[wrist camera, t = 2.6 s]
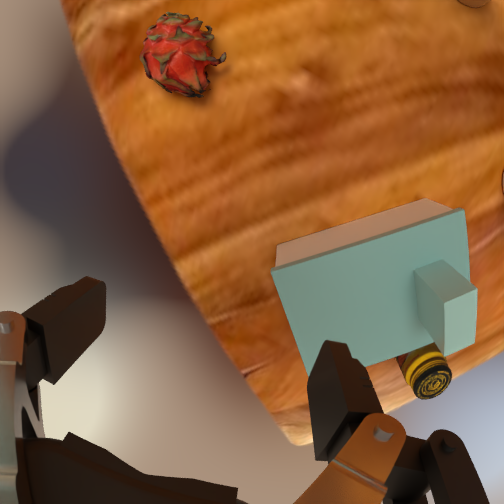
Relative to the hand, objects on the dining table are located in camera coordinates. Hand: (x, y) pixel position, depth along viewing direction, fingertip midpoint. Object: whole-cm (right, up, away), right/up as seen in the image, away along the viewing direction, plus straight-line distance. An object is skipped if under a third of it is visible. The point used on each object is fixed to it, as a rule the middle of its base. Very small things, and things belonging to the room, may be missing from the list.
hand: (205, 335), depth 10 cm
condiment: (+25, -9, +29) cm, 39 cm away
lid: (+16, -2, +19) cm, 24 cm away
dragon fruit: (-6, +26, +20) cm, 33 cm away
